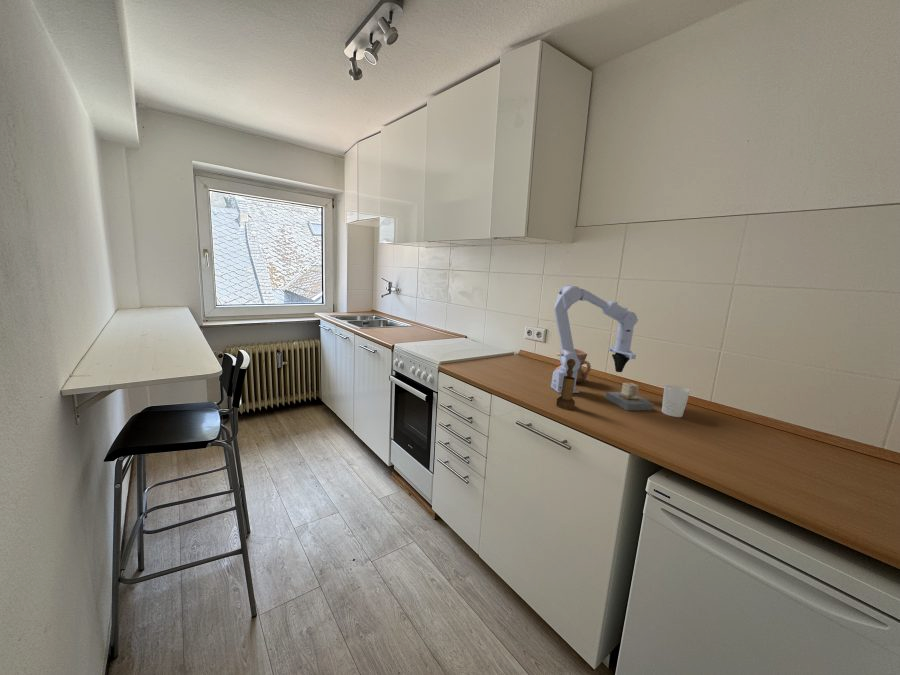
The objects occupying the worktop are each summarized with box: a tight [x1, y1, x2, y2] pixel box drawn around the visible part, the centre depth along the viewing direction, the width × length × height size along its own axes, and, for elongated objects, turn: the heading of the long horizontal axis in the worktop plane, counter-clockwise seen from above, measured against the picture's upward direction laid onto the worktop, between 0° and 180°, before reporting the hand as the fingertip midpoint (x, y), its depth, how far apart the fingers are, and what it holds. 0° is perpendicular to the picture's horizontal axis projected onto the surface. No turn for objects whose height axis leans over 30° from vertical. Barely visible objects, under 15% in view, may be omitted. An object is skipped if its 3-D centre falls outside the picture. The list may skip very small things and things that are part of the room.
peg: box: [620, 382, 640, 400], centre depth 140 cm, size 4×4×8 cm
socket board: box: [605, 391, 654, 411], centre depth 141 cm, size 11×13×2 cm
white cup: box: [661, 384, 691, 418], centre depth 133 cm, size 8×8×10 cm
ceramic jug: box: [554, 348, 592, 383], centre depth 167 cm, size 18×14×14 cm
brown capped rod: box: [555, 359, 576, 410], centre depth 132 cm, size 7×6×18 cm
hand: (618, 371), depth 150 cm, fingers closed
